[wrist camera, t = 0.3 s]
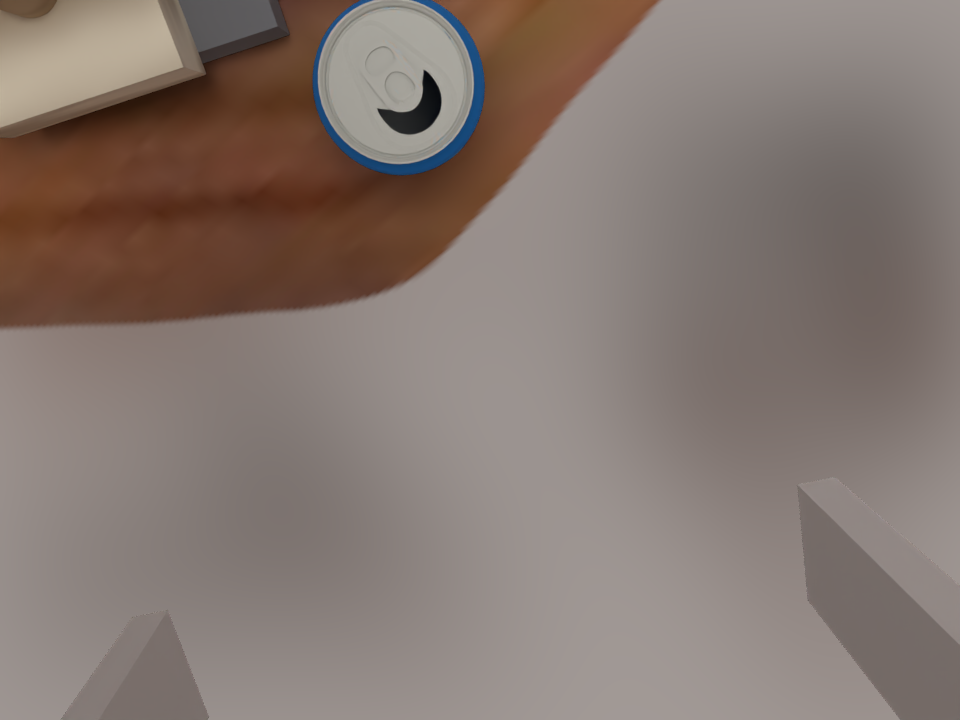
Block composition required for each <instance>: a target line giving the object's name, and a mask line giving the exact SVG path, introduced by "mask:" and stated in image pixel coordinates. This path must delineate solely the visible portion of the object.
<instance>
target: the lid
mask: <svg viewBox="0 0 960 720" xmlns="http://www.w3.org/2000/svg"><path fill="white" fill-rule="evenodd" d="M203 75H206V71H205V69H204V66H203V64H202V61H201V58H200V56H199V53H198V51H197V48H196V45H195V43H194V40H193V38H192V35H191V32H190V30H189V27H188V24H187V22H186V19H185V17H184V14H183V11H182V9H181V6H180V4H179V1H178V0H0V137H2V138H15V137H18V136H21V135H24V134H27V133H30V132H33V131H36V130H39V129H42V128H45V127H48V126H51V125H54V124H57V123H60V122H63V121H66V120H70V119H73V118H76V117H79V116H82V115H85V114H88V113H91V112H94V111H97V110H100V109H103V108H106V107H109V106H112V105H115V104H118V103H121V102H124V101H127V100H130V99H133V98H136V97H139V96H142V95H145V94H148V93H151V92H155V91H158V90H161V89H164V88H167V87H170V86H173V85H176V84H179V83H182V82H185V81H188V80H191V79H194V78H197V77H200V76H203Z"/></svg>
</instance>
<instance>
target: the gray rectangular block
mask: <svg viewBox="0 0 960 720" xmlns="http://www.w3.org/2000/svg"><path fill="white" fill-rule="evenodd" d="M178 1H179V4H180V6H181V9H182V11H183V14H184V17H185V19H186V22H187V24H188V27H189V30H190V32H191V35H192V38H193V40H194V43H195V45H196V48H197V51H198V53H199V56H200V58H201V61H202V64H203V63H206V62H209V61H212V60H215V59H218V58H221V57H224V56H227V55H230V54H233V53H236V52H239V51H242V50H245V49H248V48H251V47H254V46H257V45H260V44H263V43H266V42H269V41H273V40H276V39H279V38H282V37H285V36H288V35H290V34H289V31H288V28H287V25H286V22H285V19H284V16H283V14H282V11H281V8H280V5H279V2H278V0H178Z"/></svg>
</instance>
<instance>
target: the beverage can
mask: <svg viewBox="0 0 960 720" xmlns="http://www.w3.org/2000/svg"><path fill="white" fill-rule="evenodd" d="M484 91H485V82H484V72H483V67H482V62H481V59H480V56H479V52H478V50H477V48H476V46H475V43H474V41H473V39H472V38H471V36H470V35H469V33H468V31H467V30H466V29H465V27H464V26H463V25H462V24H461V22H460V21H459V20H458V19H457V18H456V17H455V16H454V15H453V14H452V13H450V12H449V11H448V10H446V9H445V8H444V7H442V6H441V5H439V4H437V3H435V2H434V1H432V0H361V1H359V2H357V3H355V4H353V5H352V6H350V7H349V8H348V9H346V10H345V11H344V12H342V13H341V14H340V15H339V16H338V17H337V18H336V19H335V20H334V22H333V23H332V24H331V26H330V27H329V28H328V30H327V31H326V33H325V35H324V37H323V39H322V40H321V43H320V45H319V48H318V50H317V54H316V58H315V62H314V69H313V93H314V100H315V104H316V108H317V111H318V114H319V116H320V119H321V122H322V123H323V125H324V127H325V129H326V131H327V133H328V134H329V135H330V137H331V138H332V140H333V141H334V142H335V143H336V145H337V146H338V147H339V148H340V149H341V150H342V151H343V152H344V153H345V154H347V155H348V156H349V157H350V158H352V159H353V160H355V161H356V162H358V163H359V164H361V165H363V166H365V167H367V168H369V169H372V170H375V171H377V172H381V173H386V174H391V175H413V174H417V173H422V172H425V171H428V170H431V169H434V168H436V167H438V166H440V165H441V164H443V163H445V162H447V161H448V160H450V159H451V158H452V157H454V156H455V155H456V154H457V153H458V152H459V151H460V150H461V149H462V148H463V147H464V146H465V144H466V143H467V141H468V140H469V138H470V136H471V135H472V133H473V132H474V129H475V127H476V125H477V123H478V121H479V118H480V114H481V111H482V107H483V102H484Z"/></svg>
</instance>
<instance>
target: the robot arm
mask: <svg viewBox="0 0 960 720" xmlns="http://www.w3.org/2000/svg"><path fill="white" fill-rule="evenodd" d="M797 487H798V497H799V509H800V520H801V531H802V542H803V553H804V564H805V575H806V586H807V598H808V601H809V603H810V604H811V605H812V606H813V608H814V609H815V610H816V612H817V613H818V614H819V615H820V617H821V618H822V619H823V621H824V622H825V623H826V624H827V626H828V627H829V628H830V630H831V631H832V632H833V633H834V635H835V636H836V637H837V639H838V640H839V641H840V643H841V644H842V645H843V646H844V648H845V649H846V650H847V652H848V653H849V654H850V655H851V657H852V658H853V659H854V661H855V662H856V663H857V665H858V666H859V667H860V668H861V670H862V671H863V672H864V674H865V675H866V676H867V677H868V679H869V680H870V681H871V683H872V684H873V685H874V686H875V688H876V689H877V690H878V692H879V693H880V694H881V695H882V697H883V698H884V699H885V701H886V702H887V703H888V705H889V706H890V707H891V708H892V710H893V711H894V712H895V713H896V715H897V716H898V717H899V719H900V720H960V585H959V584H958V583H956V582H955V581H954V580H953V579H952V578H951V577H950V576H948V575H947V574H946V573H945V572H944V571H943V570H941V569H940V568H939V567H938V566H937V565H936V564H935V563H933V562H932V561H931V560H930V559H929V558H927V556H925V555H924V554H923V553H922V552H921V551H920V550H918V549H917V548H916V547H915V546H914V545H913V544H912V543H910V542H909V541H908V540H907V539H906V538H905V537H903V536H902V535H901V534H900V533H899V532H898V531H897V530H895V529H894V528H893V527H892V526H891V525H890V524H889V523H887V522H886V521H885V520H884V519H883V518H882V517H880V516H879V515H878V514H877V513H876V512H875V511H873V510H872V509H871V508H870V507H869V506H868V505H867V504H866V503H864V502H863V501H862V500H861V499H860V498H859V497H857V496H856V495H855V494H854V493H853V492H852V491H851V490H849V489H848V488H847V487H846V486H845V485H844V484H843V483H841V482H840V481H839V480H838V479H837V478H835V477H833V478H828V479H824V480H818V481H813V482H808V483H803V484H798V485H797ZM208 718H209V716H208V713H207V710H206V708H205V706H204V703H203V700H202V697H201V695H200V692H199V690H198V687H197V684H196V682H195V679H194V677H193V674H192V671H191V669H190V666H189V664H188V661H187V658H186V656H185V653H184V651H183V648H182V645H181V643H180V640H179V638H178V635H177V632H176V630H175V627H174V625H173V622H172V619H171V617H170V614H169V612H168V610H166V611H161V612H156V613H151V614H146V615H141V616H136V617H132V618H131V620H130V621H129V623H128V624H127V625H126V627H125V628H124V630H123V631H122V633H121V634H120V635H119V637H118V638H117V640H116V641H115V643H114V644H113V645H112V647H111V648H110V650H109V651H108V653H107V654H106V655H105V657H104V658H103V660H102V661H101V663H100V664H99V665H98V667H97V668H96V670H95V671H94V673H93V674H92V675H91V677H90V678H89V680H88V681H87V683H86V684H85V686H84V687H83V688H82V690H81V691H80V693H79V694H78V695H77V697H76V698H75V700H74V701H73V703H72V704H71V706H70V707H69V708H68V710H67V711H66V713H65V714H64V716H63V717H62V718H61V720H208Z"/></svg>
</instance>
